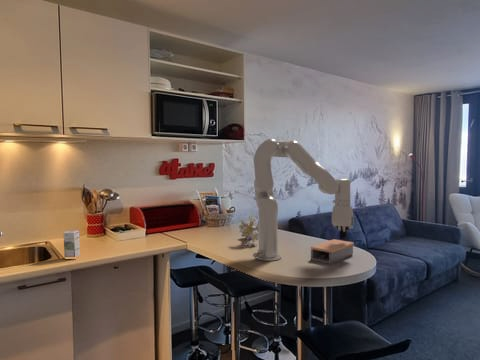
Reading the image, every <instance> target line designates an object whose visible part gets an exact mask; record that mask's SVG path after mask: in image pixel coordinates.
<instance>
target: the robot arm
mask: <svg viewBox="0 0 480 360" xmlns="http://www.w3.org/2000/svg"><path fill="white" fill-rule="evenodd" d="M272 158H289V159H290V160H291V161H292V162H293V164H295V165H296V167H297V168H299V169H300V171H301V172H303V174H305V175H306V176H308V177H310V178H312V179H313V180H314V181H315V182H316V183H317V184H318V190H319V191H320V192H321V193H323V194H327V195H331V196H332V195H334V200H332V203H333V207H332V213H331V224H332V226H333V227H335V228H336V229H337V230H338V232H339V240H345V239H347V235H348V234H347V231H348V230H349V229H353V228H354V212H353V211H354V210H353V207H352V205H351V181H350V179H349V178H337V179H335V178H334V176H333V175H332V174H331V173H330V172H329V171H327V169H326V168H324V167H323V166H322V165H321V164H320V163H319V162H318V161H317V160H315V158H314V157H313V156H312V155H311V154H310V153H309V151H307V150H306V149H305V147H303V145H302V144H301V143H300V142H298V141H297V140H293V139H292V140H289V141H286V140H285V141H283V140H282V141H281V140H276V139H274V138H267V139H265V140H264V141H263V142H261V143H260V144H259V145H258V146H257V148H256V150H255V152H254V156H253V170H254V179H253V180H254V181H253V187H254V194H255V200H256V206H257V208H258V219H257V221H258V222H257V224H258V223H259V233H258V234H259V236H258V237H259V239H258V249H257V252H254V253H253V254H252V256H253V258H256V259H257V260H260V261H265V262H267V261H268V262H270V261H272V262H274V261H278V260H280V259H281V258H282V255H281V254H280V253H279V249H278V248H279V246H278V244H279V243H278V241H279V238H278V232H279V231H278V212H279V205H278V201H277V199H276V198H275V197H274V189H273V188H274V186H275V185H274V184H275V183H274V182H275V181H274V178H273V173H272V164H271V163H272Z"/></svg>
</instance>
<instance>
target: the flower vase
mask: <svg viewBox="0 0 480 360" xmlns="http://www.w3.org/2000/svg"><path fill="white" fill-rule="evenodd" d="M246 216H247V218H248V220H249V223H246V221H245V220H243V219H241V224H240V225H238V228H239V233H241V235H240V236H241V237H242V238H243V237H244V238H246V240H247V241H248V240H249V241H248V242H247V243H245V244H244V245H245V246H244V247H246V246H248V248H249V247H250V248H251V247H252V246H253V247H255V246H257V244H255V243H254V242H255V241H259V223H258V219H255V217H254V216H253V215H252V216H251V217H250V215H246ZM254 224H257V225H256V226H254ZM251 240H252V241H251Z"/></svg>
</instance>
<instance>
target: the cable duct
mask: <svg viewBox="0 0 480 360" xmlns="http://www.w3.org/2000/svg"><path fill="white" fill-rule="evenodd" d="M353 252H354V245H351V246H349V247H346V248H343V249H341V250H338V251H336V252H333V253H329V258H326V259H321V255H322V254H325V253H328V252H324V251H319V250H314V249H311V248H310V260H311V261H315V262H320V263H325V264H329V265H332V264H335V263H336V262H339V261H342V260H344V259H346V258H349V257H350V255H351V256H353V255H354V253H353ZM352 254H353V255H352Z"/></svg>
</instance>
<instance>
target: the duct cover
mask: <svg viewBox="0 0 480 360" xmlns="http://www.w3.org/2000/svg"><path fill="white" fill-rule="evenodd" d="M351 245H353V246H354V245H355V242H353V241H348V240H347V241H346V240H342V239H335V238H333V239H330V240H327V241H324V242H320V243H318V244H315V245H312V246H310V250H311V249H314V250H319V251H324V252H329V253H333V252H336V251H338V250H341V249H343V248H346V247H349V246H351Z"/></svg>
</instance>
